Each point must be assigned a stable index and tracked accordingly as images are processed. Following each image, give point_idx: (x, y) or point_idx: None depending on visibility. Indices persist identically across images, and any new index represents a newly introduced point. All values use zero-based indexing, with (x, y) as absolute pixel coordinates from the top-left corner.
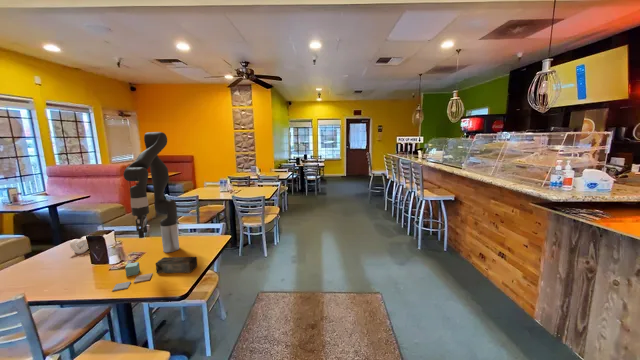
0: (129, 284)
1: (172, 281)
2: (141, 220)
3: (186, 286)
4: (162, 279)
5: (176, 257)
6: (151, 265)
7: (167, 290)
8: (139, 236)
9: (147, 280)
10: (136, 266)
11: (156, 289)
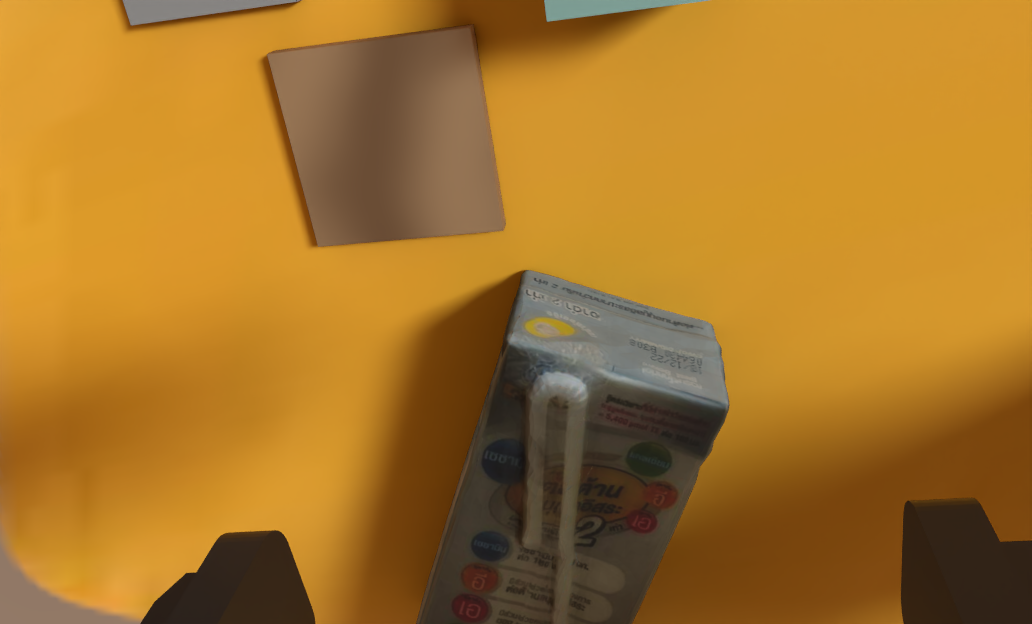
0: (232, 9)
1: (258, 477)
2: None
3: (145, 596)
4: (322, 374)
5: (635, 574)
6: (858, 114)
7: (81, 463)
8: (152, 607)
9: (314, 216)
10: (548, 19)
11: (104, 364)
